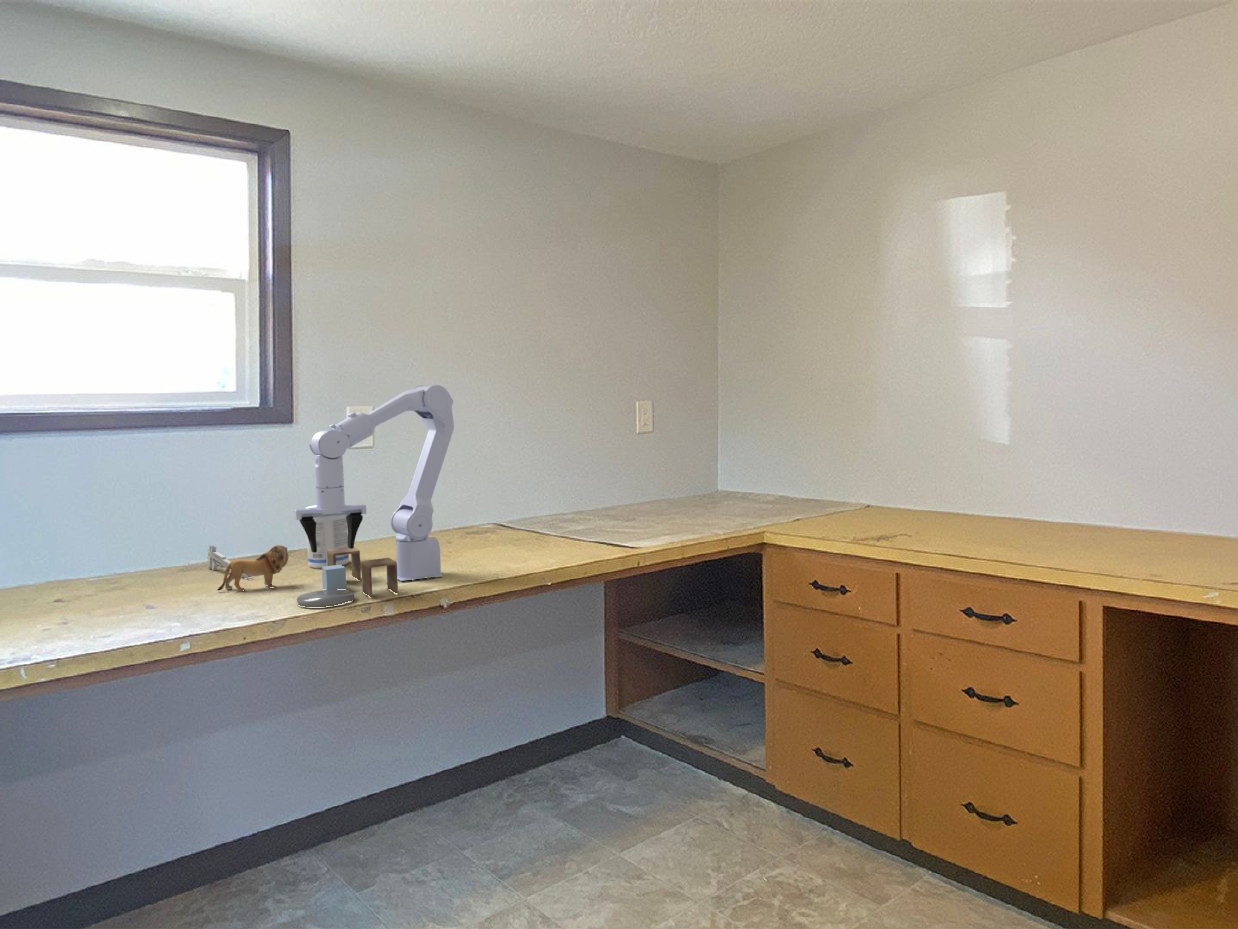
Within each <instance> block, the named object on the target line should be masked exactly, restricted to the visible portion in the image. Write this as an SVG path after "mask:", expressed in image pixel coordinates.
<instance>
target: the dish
mask: <svg viewBox="0 0 1238 929" xmlns="http://www.w3.org/2000/svg"><path fill="white" fill-rule="evenodd" d="M353 599H355V592H354V591H352V590H348V589H346V590H323V589H321V590H316V591H310V592H307V593H303V594H301V595H298V596H297V597H296V604H297V603H298V605H300V606H305V607H326V606H334V605H338V604H342V603H345V602H348V601H352V600H353ZM298 605H297V606H298Z"/></svg>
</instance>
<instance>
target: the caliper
mask: <svg viewBox="0 0 1238 929" xmlns="http://www.w3.org/2000/svg"><path fill="white" fill-rule="evenodd" d="M230 562H232V560H231V561H230V560H229V559H227V557H226V556H225V555H223V554H222V553H220V552H219V551H217V546H215V545H214V544H212V545H209V548H208V551H207V566H208V568H207V569H208V570H209V569H210V570H211V571H212V570H213V571H218V567H219V568H225V569H226V568H227V566H228V564H229V563H230ZM229 571H231V569H229ZM242 577H244V578H247V579H253V578H254V576H249V575H247V574H245V573H242V576H241V578H242ZM247 579H246V580H247Z"/></svg>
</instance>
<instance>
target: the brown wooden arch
mask: <svg viewBox="0 0 1238 929" xmlns="http://www.w3.org/2000/svg"><path fill="white" fill-rule="evenodd" d="M345 554H349V555H350V557H351V558H350V560H351V577H352V576H353V577H355V578H357V579H358V580H361V581H362V569H361V553H360V550H359V549H358V548H356V547H354V548H353V549H350V548H348V547H346V548H337V549H328V550H327V560H328V566H333V565H336V555H345ZM353 577H352V578H353Z"/></svg>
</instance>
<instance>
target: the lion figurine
mask: <svg viewBox="0 0 1238 929" xmlns="http://www.w3.org/2000/svg"><path fill="white" fill-rule="evenodd" d="M288 553H289V552H288V547H287V546H284V545H281V544H275V545H274V546H272V547H271V548H270V549H269V550H268V551H266V552H264V553H263V554H261V556H259V557H258V558H256V559H243V558H236V559H233V560H231V562H230V563H229V564H228V566H227V568H226V567H225V571H224V575H223V581H222V584H221V585H220V586H219V587H218V588H217V589H216V591H221V590H223V589H224V587H225V590H232V589H233V586H232V585H230V584H231V582H232V581H233V580H234V582H233V585H234V587H235V588H236V590H237V591H238V592H244V591H245V590H246V589H245V588H244V587H241V585H240V581H241V578H242V577H241V576H242V573H245V574H247V575H249V576H252V577H259V576H263V578H264V582H263V583H264V586H265V585H268V586H267V587H268V588H269V589H271V588H270V587H275V585H273V577H274V575H275V574H279V573H280V572H281V571H282V569H283V568H284V567H285V566H286V565H287V563H288V561H289V554H288ZM229 569H231V570H229ZM229 573H230V574H229ZM228 575H229V576H228ZM275 588H276V587H275ZM243 590H244V591H243Z"/></svg>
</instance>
